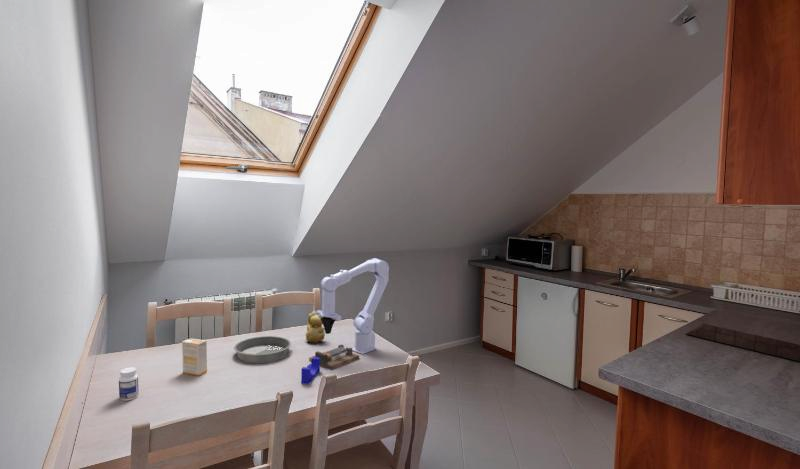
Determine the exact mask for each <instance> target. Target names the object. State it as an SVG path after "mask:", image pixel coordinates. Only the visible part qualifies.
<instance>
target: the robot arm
mask: <svg viewBox="0 0 800 469" xmlns="http://www.w3.org/2000/svg"><path fill="white" fill-rule="evenodd" d="M389 270H390V266H389V264H388V262H387V261H385V260H381V259H379V258H377V257H373V258H371V259H367V260H366V261H365V262H363V263H361V264H358V265H356V266H355V267H354V268H351V269H349V270H347V269H340V270H339V272H337V273H335V274H329V275H330V276H325V277H324V278H322V280H321V282H320V287H321V289H322V290H321V291H322V297H321V300H322V301H321V310H320V309H318V310H315V312H316V315H320V316H321V317H323V318H321V321H322V323H323V324H322V325H323V328H324V333H325V335H329V334H331V333H332V330H333V326H334V323H335V322H339V321H340V322H341V321H342V316H341V315H339V314H338V313H336V309H335V308H336V290H337V288H338V287H341V286H342V285H344V284H347V283H349V282H351V280H352V278H353V277H356V276H358V275H361V274H364V273H365V272H371V273H372V274H373V275H374V277H375V280H376V281H375V283H374V285H373V287H372V289H371V291H370V294H369V296H368V298H367V300H366V303H365V305H364V307H363V309H362V310H361V311H360V312H359V313H358V315H356V317H355V318H354V319H353V326H354V327H355V332H354V334H355V337H354V347H353V348H352V347H351V348H352V352H355V353H359V354H361V355H365V354H367V353H370V352H372V351H375V350H376V349H377V347H376V334H375V331H374V330H373V329H374V321H375V316H374V314H375V313H376V309H377V308H378V305H379V303H380V301H381V298H382V296H383V294H384V291H385V289H386V287H387V285H388V282H389Z"/></svg>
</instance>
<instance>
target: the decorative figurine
mask: <svg viewBox="0 0 800 469" xmlns="http://www.w3.org/2000/svg"><path fill="white" fill-rule="evenodd" d="M321 318H323V317H321V316H320V315H316V310H312V312H310V313H308V317H307V323H306V330H307V331H306V332H305V339H306V341H307V343H311V344H318V343H320V342H322V341H323V340H324V339H325V336H326V333H325V329H324V327H322V325H323V323H322V321H321Z"/></svg>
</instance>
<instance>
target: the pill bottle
mask: <svg viewBox="0 0 800 469" xmlns="http://www.w3.org/2000/svg"><path fill="white" fill-rule="evenodd" d="M119 373H120V374H119V375H120V377H119V378H118V392H119V393H118V396H119V398H118V399H119V400H121V401H124V402H126V401H132V400H135V399H136V398H138V397H139V394H140V393H139V375H138V374H137V368H136V367H133V366H132V367H125V368H123V369H120V371H119Z"/></svg>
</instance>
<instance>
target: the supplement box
mask: <svg viewBox="0 0 800 469" xmlns="http://www.w3.org/2000/svg"><path fill="white" fill-rule="evenodd" d="M181 343H182V344H181V346H182V347H181V348H182V349H181V350H182V374H187V375H193V376H197V377H199V376H202V375H204V374H205V373H207V371H208V364H207V363H208V360H207V359H208V358H207V357H208V356H207V355H208V354H207V352H208V351H207V350H208V349H207V348H208V347H207V340H204V339H198V338H192V337H191V338H188V339H185V340H182V342H181Z"/></svg>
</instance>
